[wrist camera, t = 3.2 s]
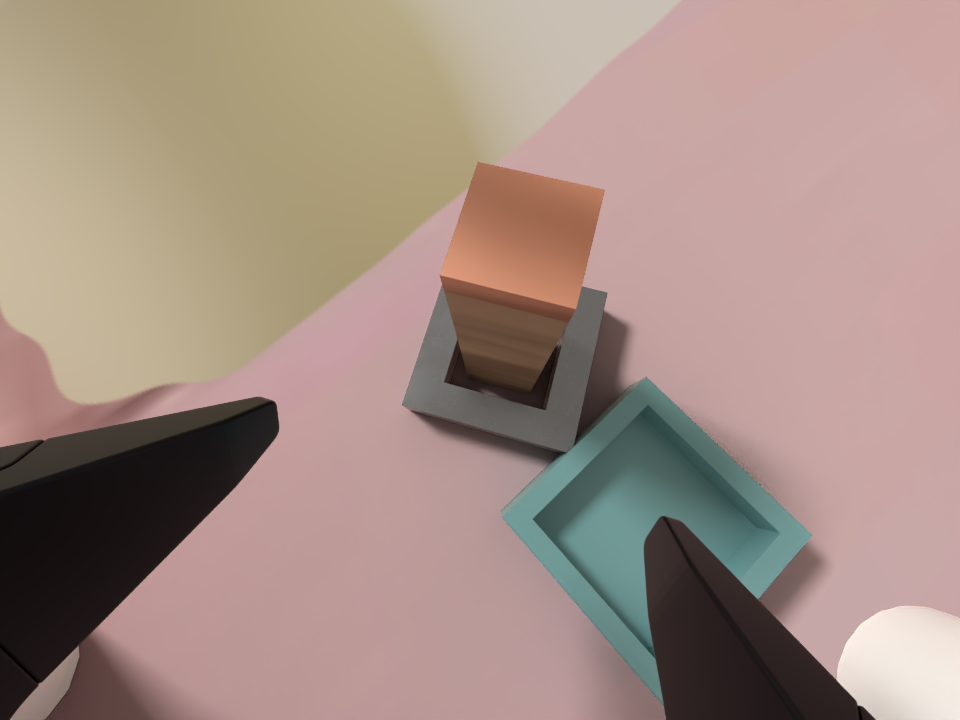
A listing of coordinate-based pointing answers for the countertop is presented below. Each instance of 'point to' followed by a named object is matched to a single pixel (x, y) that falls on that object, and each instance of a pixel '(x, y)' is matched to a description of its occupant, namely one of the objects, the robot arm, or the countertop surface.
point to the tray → (645, 515)
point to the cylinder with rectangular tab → (905, 664)
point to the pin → (517, 271)
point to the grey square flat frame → (500, 415)
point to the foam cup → (49, 691)
